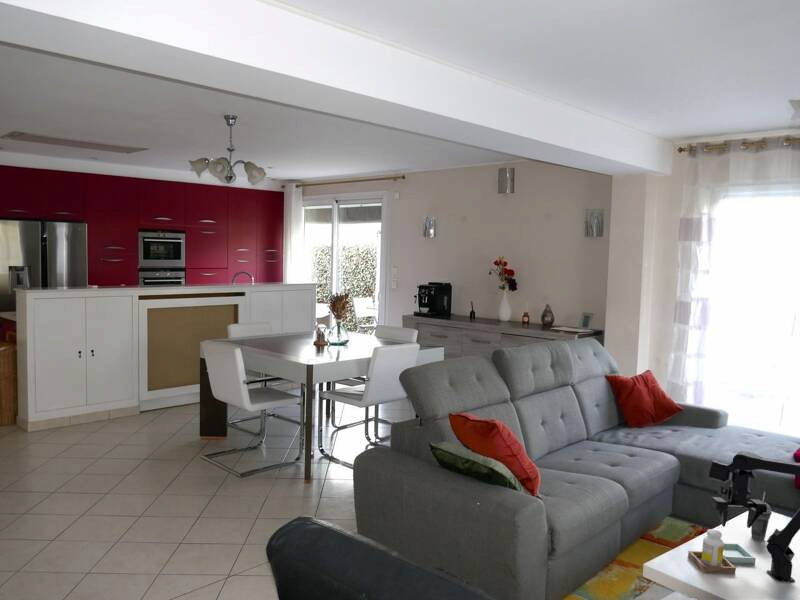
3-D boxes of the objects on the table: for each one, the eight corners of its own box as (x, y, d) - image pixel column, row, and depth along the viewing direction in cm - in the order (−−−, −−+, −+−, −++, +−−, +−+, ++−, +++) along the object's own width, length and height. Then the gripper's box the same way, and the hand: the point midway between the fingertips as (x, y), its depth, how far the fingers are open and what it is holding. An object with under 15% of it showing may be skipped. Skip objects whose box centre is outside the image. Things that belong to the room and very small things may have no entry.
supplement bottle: (719, 563, 233) (722, 529, 232) (723, 572, 227) (726, 537, 226) (699, 559, 235) (702, 526, 234) (702, 568, 229) (706, 534, 228)
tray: (754, 564, 234) (755, 558, 234) (724, 563, 234) (725, 556, 233) (737, 549, 245) (738, 543, 245) (708, 548, 245) (709, 542, 245)
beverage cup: (763, 535, 259) (768, 488, 258) (771, 543, 252) (777, 495, 250) (744, 533, 260) (749, 486, 258) (752, 541, 253) (758, 493, 251)
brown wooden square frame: (735, 574, 226) (735, 568, 225) (703, 573, 225) (704, 566, 225) (718, 558, 237) (718, 552, 237) (687, 557, 237) (688, 551, 236)
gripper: (753, 479, 242) (748, 518, 243) (704, 476, 241) (700, 516, 243) (770, 490, 231) (765, 532, 232) (719, 487, 230) (714, 529, 232)
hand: (735, 527), depth 235 cm, fingers open, 9 cm apart
